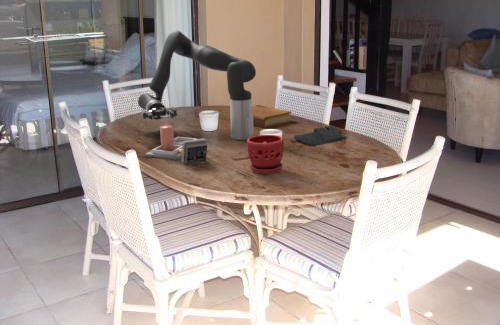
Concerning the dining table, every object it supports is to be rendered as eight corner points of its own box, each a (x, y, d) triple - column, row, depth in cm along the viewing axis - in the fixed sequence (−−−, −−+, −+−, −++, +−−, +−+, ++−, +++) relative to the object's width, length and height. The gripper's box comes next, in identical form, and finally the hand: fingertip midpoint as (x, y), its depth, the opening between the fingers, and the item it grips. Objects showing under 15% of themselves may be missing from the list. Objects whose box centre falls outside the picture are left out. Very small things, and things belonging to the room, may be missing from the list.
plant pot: (281, 164, 213) (281, 133, 210) (285, 175, 201) (285, 142, 197) (246, 165, 213) (246, 134, 210) (248, 176, 201) (247, 143, 197)
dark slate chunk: (288, 140, 247) (288, 129, 246) (325, 132, 260) (325, 122, 258) (312, 148, 236) (312, 137, 234) (350, 139, 248) (350, 128, 246)
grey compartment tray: (203, 143, 242) (203, 138, 242) (176, 159, 221) (176, 153, 220) (174, 141, 247) (174, 135, 247) (145, 156, 226) (144, 150, 225)
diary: (231, 121, 283) (230, 110, 282) (258, 115, 296) (258, 104, 294) (263, 129, 267) (263, 117, 266) (291, 122, 279) (291, 111, 278)
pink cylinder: (176, 149, 230) (175, 125, 227) (170, 153, 226) (169, 129, 222) (165, 148, 232) (163, 124, 228) (159, 152, 227) (157, 128, 224)
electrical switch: (204, 159, 221) (204, 136, 218) (209, 164, 217) (209, 141, 213) (181, 162, 218) (181, 139, 214) (185, 167, 213) (185, 144, 210)
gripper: (138, 102, 247) (143, 108, 232) (171, 99, 251) (178, 105, 236) (139, 119, 249) (145, 127, 234) (172, 116, 253) (179, 123, 238)
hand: (162, 116), depth 235 cm, fingers open, 8 cm apart
